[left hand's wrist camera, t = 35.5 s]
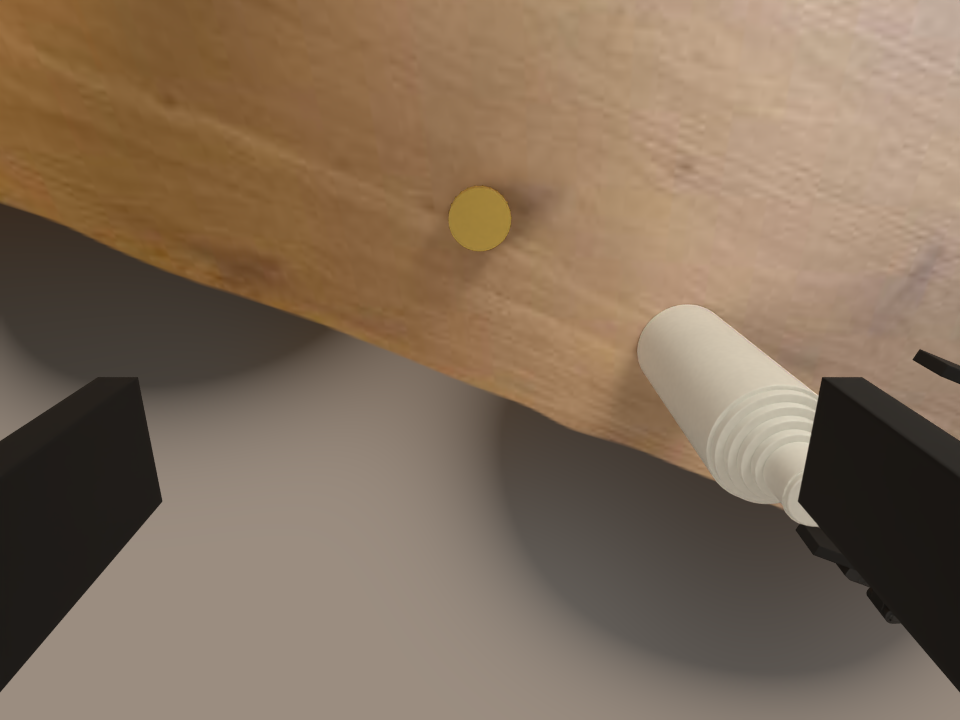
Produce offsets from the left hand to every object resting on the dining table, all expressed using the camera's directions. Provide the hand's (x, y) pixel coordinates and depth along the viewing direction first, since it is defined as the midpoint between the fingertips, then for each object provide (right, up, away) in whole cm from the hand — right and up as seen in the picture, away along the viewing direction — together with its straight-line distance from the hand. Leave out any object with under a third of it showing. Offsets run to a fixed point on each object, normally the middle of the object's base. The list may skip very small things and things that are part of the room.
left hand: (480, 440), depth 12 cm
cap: (0, +11, +30) cm, 32 cm away
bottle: (+15, +2, +35) cm, 38 cm away
